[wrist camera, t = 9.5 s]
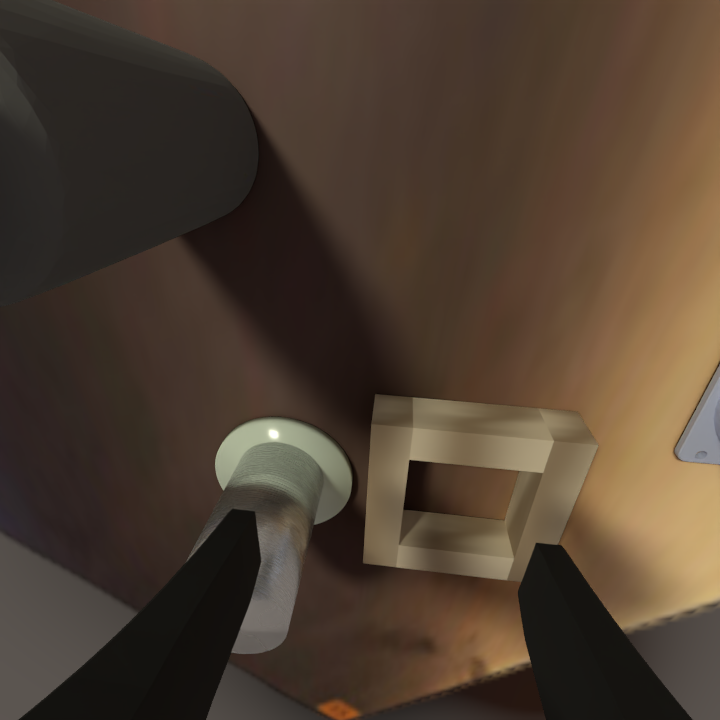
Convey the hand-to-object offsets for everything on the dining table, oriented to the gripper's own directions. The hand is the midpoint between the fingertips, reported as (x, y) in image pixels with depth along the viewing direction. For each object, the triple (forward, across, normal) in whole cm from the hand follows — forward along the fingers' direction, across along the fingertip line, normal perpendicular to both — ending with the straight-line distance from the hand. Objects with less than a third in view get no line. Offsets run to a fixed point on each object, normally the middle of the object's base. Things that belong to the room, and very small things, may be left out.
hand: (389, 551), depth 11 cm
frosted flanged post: (+10, +6, +8) cm, 14 cm away
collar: (+10, -4, +7) cm, 13 cm away
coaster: (+10, +6, +8) cm, 14 cm away
